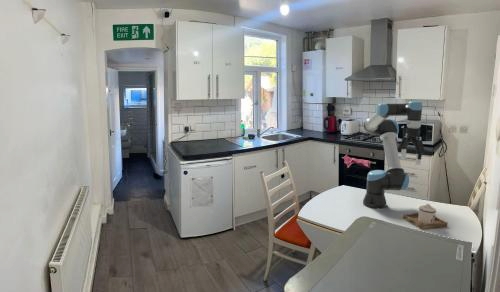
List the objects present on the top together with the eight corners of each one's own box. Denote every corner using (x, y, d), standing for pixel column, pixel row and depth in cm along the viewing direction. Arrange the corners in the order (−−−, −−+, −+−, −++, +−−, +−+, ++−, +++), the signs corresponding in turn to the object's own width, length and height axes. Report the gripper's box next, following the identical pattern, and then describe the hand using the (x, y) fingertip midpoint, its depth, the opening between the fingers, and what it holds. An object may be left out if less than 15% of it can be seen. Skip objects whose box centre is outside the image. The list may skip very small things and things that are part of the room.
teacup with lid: (434, 227, 201) (436, 208, 199) (416, 223, 205) (419, 205, 203) (434, 220, 211) (437, 201, 209) (418, 216, 216) (420, 198, 213)
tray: (402, 218, 217) (403, 214, 216) (426, 215, 220) (427, 212, 220) (421, 229, 201) (422, 225, 200) (447, 226, 204) (447, 222, 204)
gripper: (394, 124, 222) (392, 157, 226) (422, 130, 198) (418, 167, 202) (405, 124, 223) (402, 157, 227) (433, 130, 199) (430, 166, 203)
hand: (410, 161), depth 215 cm, fingers open, 13 cm apart
